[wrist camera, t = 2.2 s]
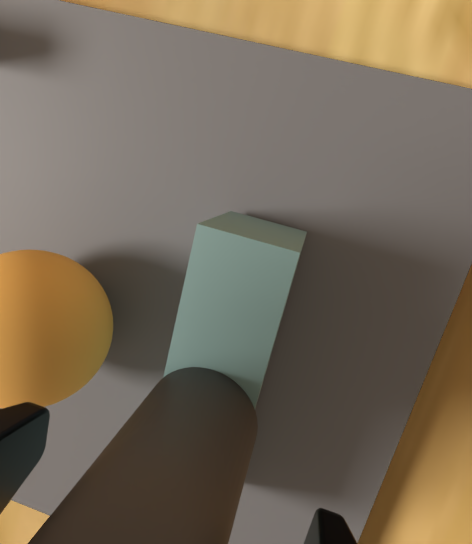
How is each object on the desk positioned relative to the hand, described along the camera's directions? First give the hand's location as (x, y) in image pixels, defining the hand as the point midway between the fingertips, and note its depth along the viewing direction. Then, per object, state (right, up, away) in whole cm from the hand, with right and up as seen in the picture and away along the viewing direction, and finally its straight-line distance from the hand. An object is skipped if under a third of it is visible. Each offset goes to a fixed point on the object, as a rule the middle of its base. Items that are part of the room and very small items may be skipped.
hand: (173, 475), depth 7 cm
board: (-4, +3, +6) cm, 8 cm away
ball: (-4, +2, +4) cm, 6 cm away
